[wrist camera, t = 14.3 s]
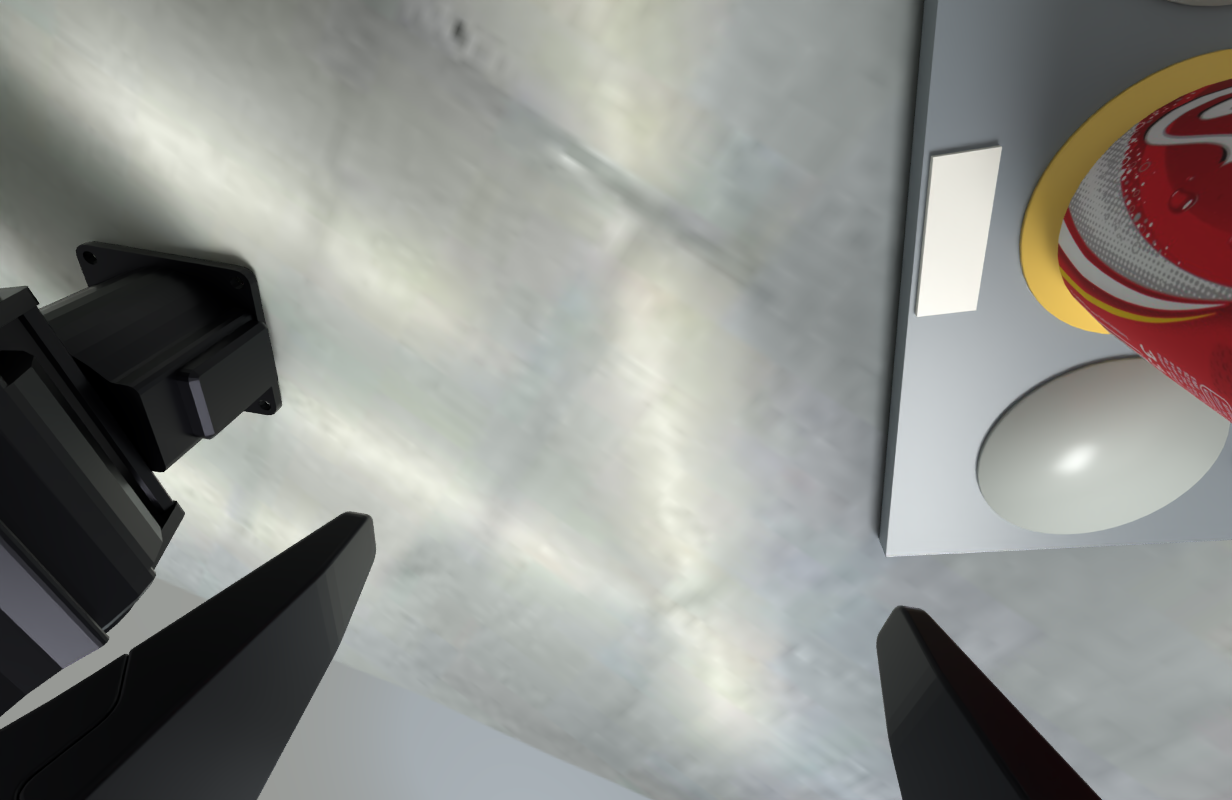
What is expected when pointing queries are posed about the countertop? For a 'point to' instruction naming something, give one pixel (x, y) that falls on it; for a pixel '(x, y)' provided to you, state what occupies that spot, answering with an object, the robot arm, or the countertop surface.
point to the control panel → (1038, 291)
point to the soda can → (1162, 242)
